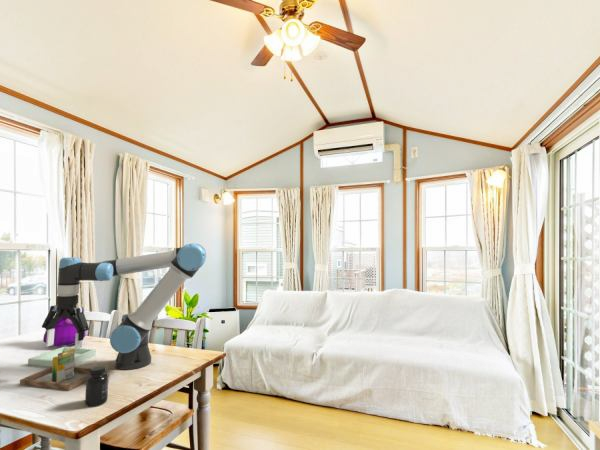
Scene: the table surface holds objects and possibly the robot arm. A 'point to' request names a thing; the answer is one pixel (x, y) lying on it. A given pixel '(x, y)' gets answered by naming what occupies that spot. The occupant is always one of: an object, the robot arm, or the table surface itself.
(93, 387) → the supplement bottle
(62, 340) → the decorative plant
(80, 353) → the sage tray
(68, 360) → the crayon box
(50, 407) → the table surface
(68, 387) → the walnut frame
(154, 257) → the robot arm
